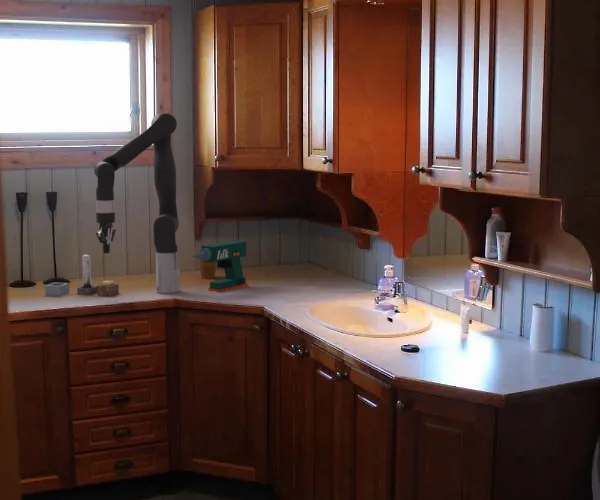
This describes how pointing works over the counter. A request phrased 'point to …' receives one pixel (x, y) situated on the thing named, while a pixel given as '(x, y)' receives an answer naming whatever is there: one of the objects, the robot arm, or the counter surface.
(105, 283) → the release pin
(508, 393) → the counter surface
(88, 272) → the pale grey rod
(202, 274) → the disposable coffee cup
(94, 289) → the socket block
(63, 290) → the gray square socket
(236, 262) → the power tool
